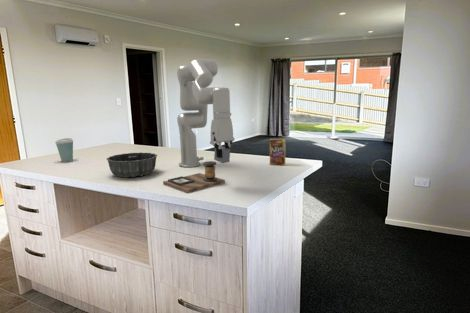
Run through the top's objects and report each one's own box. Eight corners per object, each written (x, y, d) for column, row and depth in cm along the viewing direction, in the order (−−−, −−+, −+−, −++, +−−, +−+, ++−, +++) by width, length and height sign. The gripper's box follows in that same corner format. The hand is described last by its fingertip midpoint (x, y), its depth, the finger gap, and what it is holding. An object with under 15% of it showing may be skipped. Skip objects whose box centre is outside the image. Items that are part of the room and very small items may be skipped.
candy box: (269, 165, 191) (269, 139, 188) (271, 163, 195) (271, 138, 192) (284, 165, 188) (284, 139, 185) (285, 164, 192) (285, 138, 189)
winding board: (199, 175, 170) (199, 156, 168) (225, 182, 156) (224, 162, 154) (163, 184, 155) (162, 164, 153) (187, 193, 141) (186, 170, 139)
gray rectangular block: (220, 158, 151) (221, 145, 149) (229, 161, 147) (230, 149, 145) (214, 159, 148) (214, 147, 146) (222, 163, 144) (223, 150, 142)
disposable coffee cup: (68, 163, 210) (66, 140, 207) (54, 162, 211) (50, 140, 208) (79, 159, 220) (76, 137, 217) (64, 159, 222) (62, 137, 219)
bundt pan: (133, 166, 195) (132, 150, 193) (168, 170, 183) (167, 153, 181) (97, 177, 172) (95, 159, 170) (134, 182, 160) (132, 163, 158)
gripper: (229, 114, 151) (231, 153, 154) (201, 117, 140) (203, 158, 143) (241, 115, 145) (242, 155, 149) (212, 117, 134) (214, 160, 138)
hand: (223, 156), depth 146 cm, fingers closed on gray rectangular block, 3 cm apart
